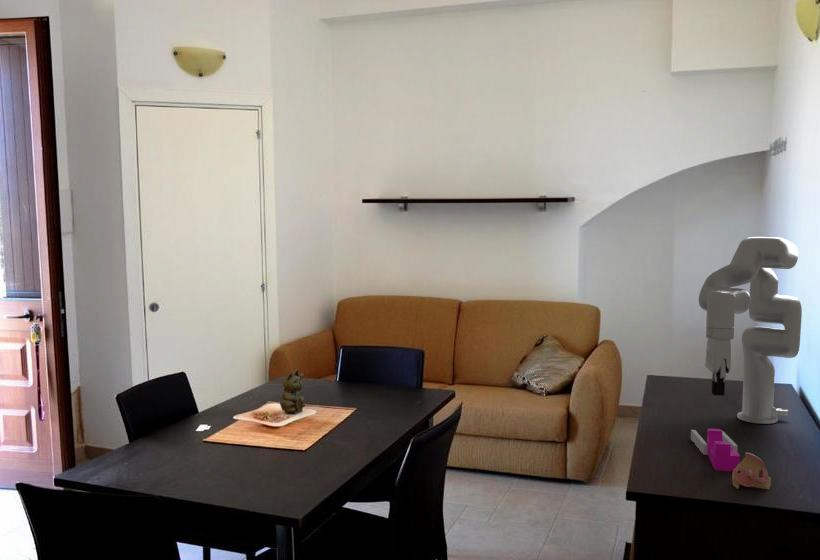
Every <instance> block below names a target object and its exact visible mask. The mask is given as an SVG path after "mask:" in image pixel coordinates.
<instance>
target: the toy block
mask: <svg viewBox="0 0 820 560" xmlns="http://www.w3.org/2000/svg"><path fill="white" fill-rule="evenodd" d="M706 429H707V433H706V434H707V436H706V443H707V444H708V455H707V456H708V459H709V461H710V463H711V464H712V467H713V469H714V470H715V471H722V472H723V471H724V472H725V471H726V472H733V468H734V469H735V468H736V467H737V465H738V464H741V463H740V462H741V456H740V454H739V452H738V451H737V452H736V451H733V448H730V443H729V442H723V439H722V431H723V430H722V429H721V428H706Z"/></svg>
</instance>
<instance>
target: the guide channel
mask: <svg viewBox="0 0 820 560" xmlns="http://www.w3.org/2000/svg"><path fill="white" fill-rule="evenodd" d="M722 439H723V442H729V443H730V448H733V451H736V452H738V444H737V443H736V442H734V440H733V439H732V438H731V437H730V436H728V435H727V433H726V432H725V431H723V430H722ZM690 440H691V441H692V442H694V443H695V444H694V443H693V444H694V446H696V447H697V449H698V448H699V449H698V450H699V451H700V452H701V454H702V453H703V454H702V455H704V456H708V444H707V441H705V440H704V439H703V437H702V436H701V435H700V434H699V433H698V431H697V430H696V429H690Z"/></svg>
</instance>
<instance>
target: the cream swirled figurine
mask: <svg viewBox="0 0 820 560" xmlns="http://www.w3.org/2000/svg"><path fill="white" fill-rule="evenodd" d="M731 478H732V486H733V487H735V488H736V489H739V488H740V485H741V486H744V487H749V488H750V487H754V488H758V489H764V490H765V489H766V490H770V488H771V485H772V484H771V483H772V477H771V476H769V473H768V470H767V468H766V465H765V463H764V461H763V460H762V459H761V458H760V457H759V456H757V455H755V454H754V453H750V452H745V453H744V457H743V458H742V461H741V460H740V464H738V465H737V467H736V468H735V469H734V468H733V471H732V474H731Z"/></svg>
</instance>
